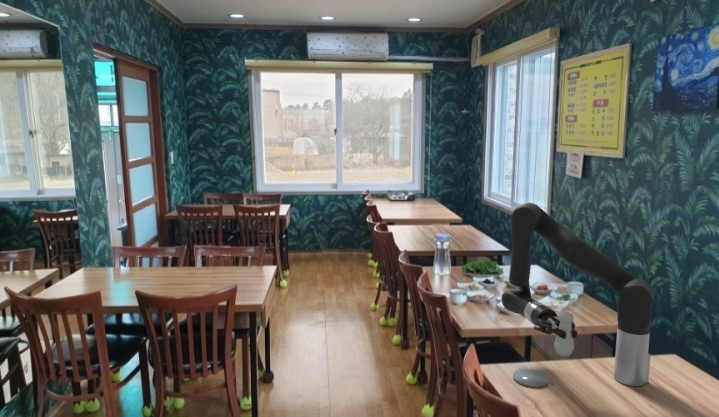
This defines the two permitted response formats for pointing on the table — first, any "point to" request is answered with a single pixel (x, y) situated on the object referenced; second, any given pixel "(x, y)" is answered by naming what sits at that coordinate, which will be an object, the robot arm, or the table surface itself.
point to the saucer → (530, 378)
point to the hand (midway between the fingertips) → (570, 335)
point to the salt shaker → (566, 345)
